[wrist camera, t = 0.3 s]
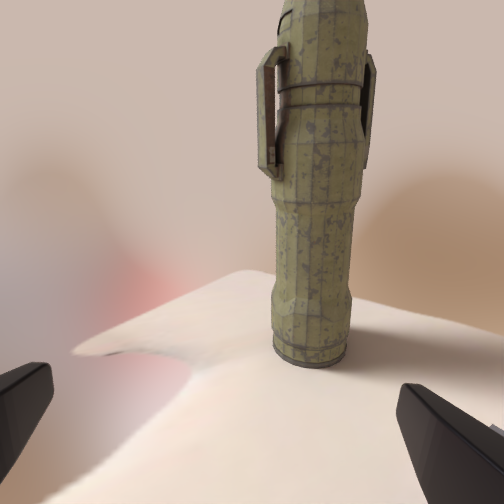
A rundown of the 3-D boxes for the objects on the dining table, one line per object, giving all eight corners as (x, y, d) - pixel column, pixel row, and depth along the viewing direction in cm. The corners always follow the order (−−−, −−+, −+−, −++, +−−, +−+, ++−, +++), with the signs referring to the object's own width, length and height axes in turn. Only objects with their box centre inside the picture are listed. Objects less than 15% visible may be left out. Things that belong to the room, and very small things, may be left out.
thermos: (247, 341, 38) (234, -7, 26) (320, 313, 44) (336, 16, 32) (291, 386, 31) (299, -65, 19) (372, 346, 36) (416, -22, 25)
